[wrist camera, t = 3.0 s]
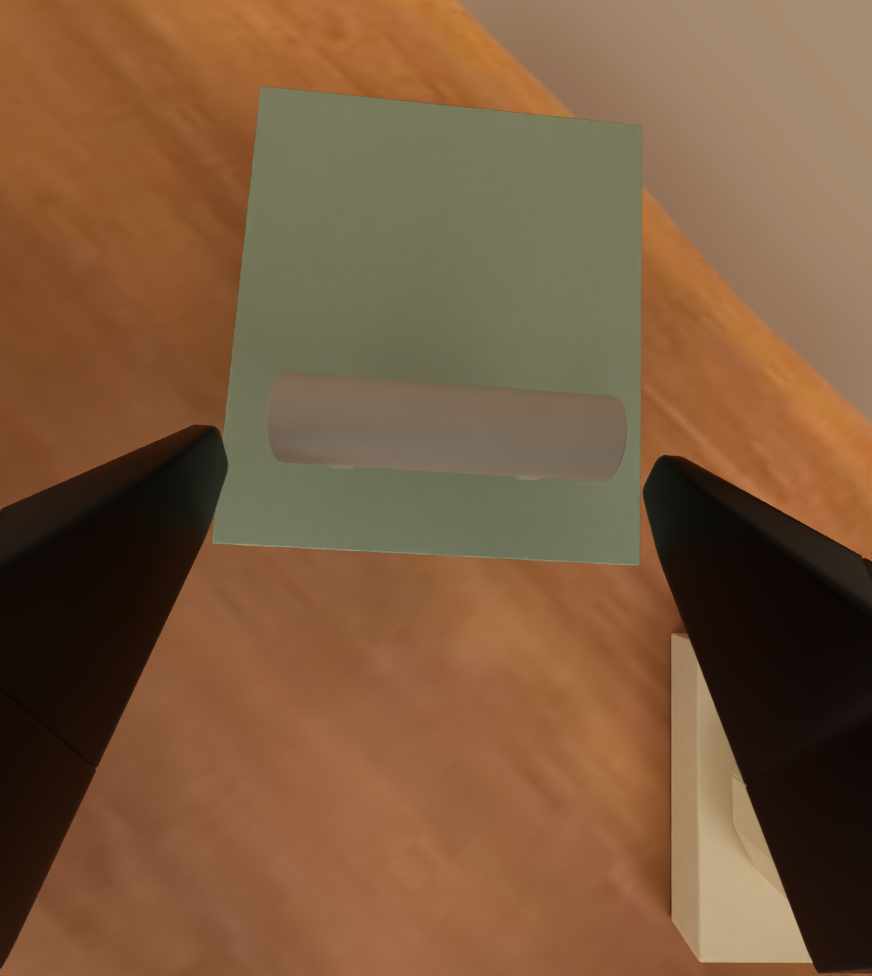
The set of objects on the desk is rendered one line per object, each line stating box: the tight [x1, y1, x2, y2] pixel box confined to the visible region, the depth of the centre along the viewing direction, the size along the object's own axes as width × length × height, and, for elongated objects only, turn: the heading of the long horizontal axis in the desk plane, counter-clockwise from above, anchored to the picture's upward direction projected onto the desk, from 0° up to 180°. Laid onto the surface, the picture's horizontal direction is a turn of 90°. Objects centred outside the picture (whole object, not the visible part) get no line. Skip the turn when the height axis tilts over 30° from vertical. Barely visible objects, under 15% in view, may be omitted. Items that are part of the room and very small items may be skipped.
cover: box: [212, 86, 642, 566], centre depth 10 cm, size 13×11×5 cm
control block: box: [671, 633, 812, 963], centre depth 16 cm, size 11×9×4 cm
